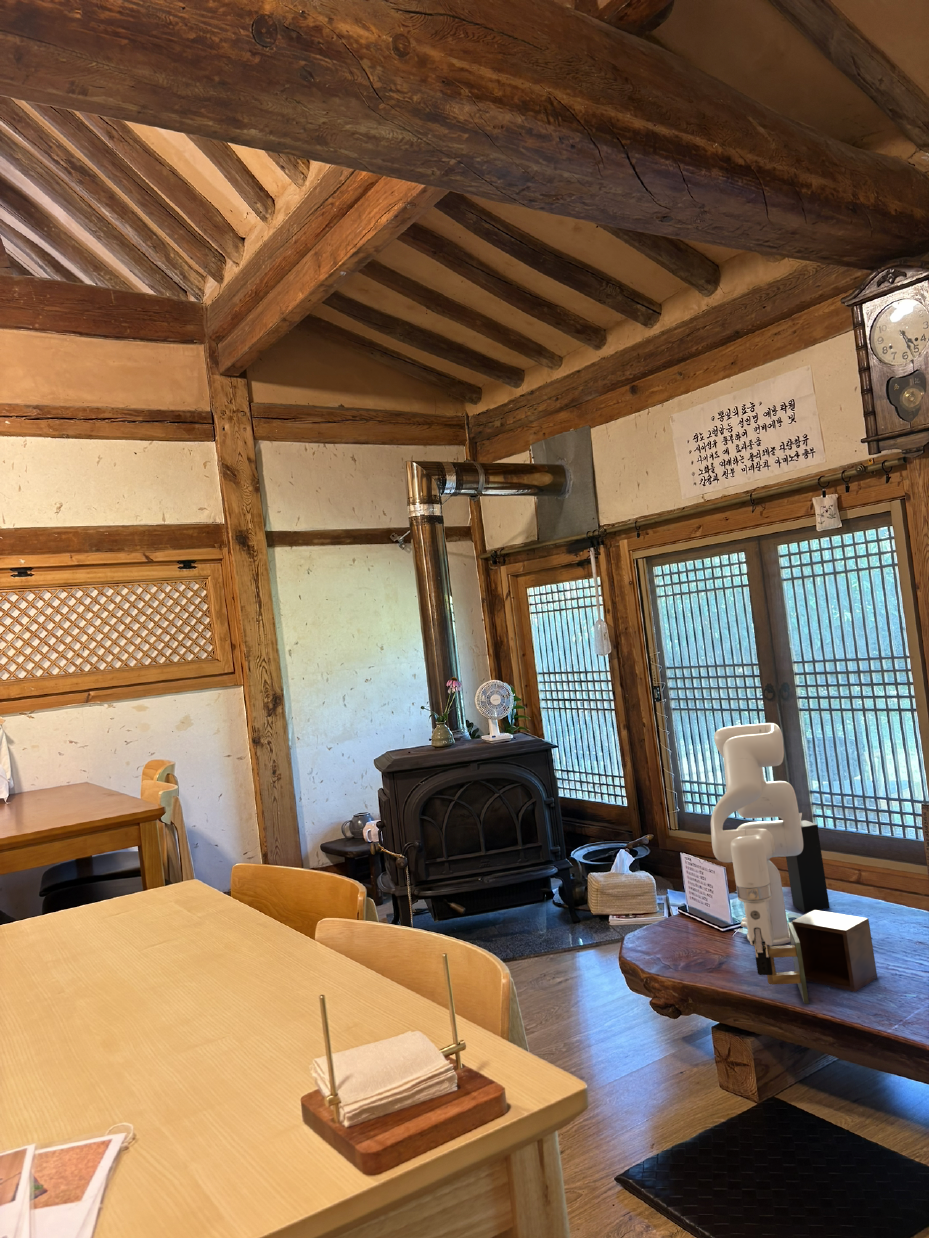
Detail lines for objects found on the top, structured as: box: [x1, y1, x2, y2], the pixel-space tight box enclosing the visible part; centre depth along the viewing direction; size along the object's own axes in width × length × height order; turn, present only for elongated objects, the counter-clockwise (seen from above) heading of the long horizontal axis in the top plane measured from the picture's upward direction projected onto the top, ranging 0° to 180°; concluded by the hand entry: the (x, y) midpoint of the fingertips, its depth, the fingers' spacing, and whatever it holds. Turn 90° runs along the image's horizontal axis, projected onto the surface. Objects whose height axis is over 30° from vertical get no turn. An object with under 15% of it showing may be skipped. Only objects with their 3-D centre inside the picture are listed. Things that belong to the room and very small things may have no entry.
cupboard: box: [791, 910, 878, 993], centre depth 213 cm, size 10×14×14 cm
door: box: [763, 922, 810, 1005], centre depth 209 cm, size 8×14×14 cm, turn 167°
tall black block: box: [785, 812, 831, 913], centre depth 267 cm, size 8×8×28 cm
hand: (765, 971), depth 205 cm, fingers closed on door, 2 cm apart
